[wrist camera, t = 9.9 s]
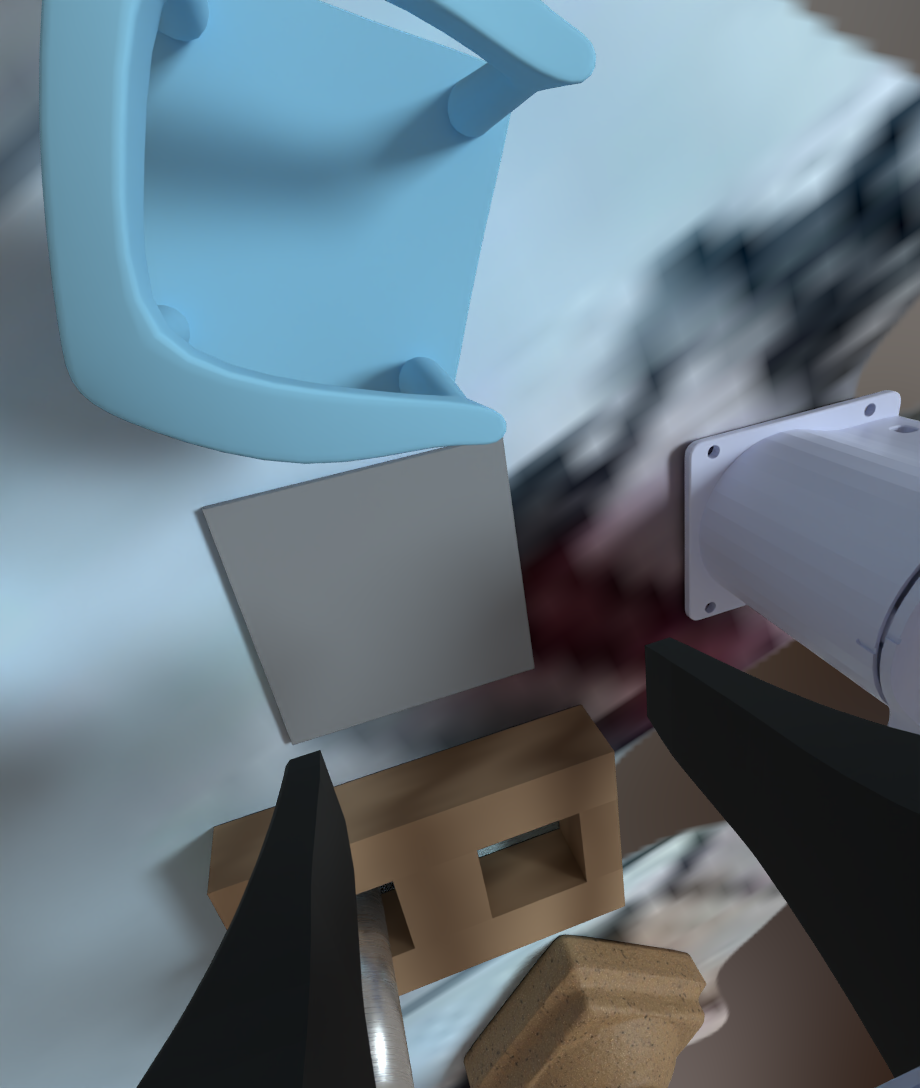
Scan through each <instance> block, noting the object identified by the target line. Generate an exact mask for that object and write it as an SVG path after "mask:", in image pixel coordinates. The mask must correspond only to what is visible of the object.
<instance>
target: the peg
mask: <svg viewBox="0 0 920 1088" xmlns="http://www.w3.org/2000/svg"><path fill="white" fill-rule="evenodd" d="M356 902H357V917H358V932H359V947H360V962H361V978H362V991H363V1001H364V1010H365V1018H366V1025H367V1031H368V1038H369V1044H370V1051H371V1057H372V1064H373V1070H374V1077H375V1083H376V1088H414V1083H413V1077H412V1071H411V1065H410V1060H409V1054H408V1048H407V1042H406V1036H405V1030H404V1024H403V1019H402V1013H401V1007H400V1001H399V995H398V989H397V983H396V978H395V972H394V966H393V960H392V954H391V948H390V942H389V936H388V931H387V925H386V919H385V913H384V907H383V901H382V895H381V890H380V886H378V887H376V888H373V889H370V890H367V891H365V892H362V893H359V894H357V895H356Z"/></svg>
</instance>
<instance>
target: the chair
mask: <svg viewBox="0 0 920 1088" xmlns="http://www.w3.org/2000/svg"><path fill="white" fill-rule="evenodd" d="M385 1H387V2H390V3H392V4H394V5H396V6H398V7H400V8H402V9H404V10H406V11H408V12H410V13H411V14H413V15H415V16H417V17H418V18H420V19H422V20H423V21H425V22H427V23H429V24H430V25H432V26H434V27H436V28H437V29H439V30H441V31H442V32H444V33H446V34H447V35H449V36H450V37H452V38H453V39H455V40H456V41H458V42H459V43H461V44H462V45H464V46H465V47H467V48H468V49H470V50H471V51H473V52H474V53H476V54H477V55H479V56H480V57H481V58H483V59H484V60H485V61H484V60H481V59H478V58H476V57H473V56H471V55H468V54H465V53H463V52H460V51H457V50H455V49H452V48H449V47H446V46H444V45H441V44H438V43H435V42H432V41H429V40H426V39H423V38H420V37H418V36H415V35H412V34H409V33H406V32H403V31H400V30H397V29H395V28H392V27H389V26H386V25H383V24H380V23H377V22H375V21H372V20H369V19H367V18H364V17H361V16H359V15H356V14H354V13H351V12H348V11H346V10H343V9H340V8H338V7H335V6H332V5H330V4H327V3H325V2H322V1H319V0H42V12H41V33H40V59H39V125H40V147H41V169H42V186H43V197H44V209H45V221H46V233H47V242H48V251H49V259H50V268H51V277H52V285H53V292H54V299H55V306H56V314H57V321H58V327H59V333H60V340H61V346H62V351H63V355H64V359H65V364H66V367H67V370H68V372H69V375H70V377H71V380H72V382H73V383H74V384H75V386H76V387H77V389H78V390H79V391H80V393H81V394H82V395H84V396H85V397H86V398H87V399H88V400H89V401H90V402H92V403H93V404H95V405H96V406H98V407H100V408H101V409H103V410H105V411H106V412H108V413H110V414H112V415H114V416H117V417H119V418H121V419H123V420H125V421H128V422H130V423H133V424H135V425H138V426H141V427H143V428H146V429H149V430H151V431H154V432H157V433H160V434H163V435H166V436H169V437H172V438H175V439H178V440H181V441H184V442H187V443H191V444H194V445H198V446H202V447H206V448H209V449H213V450H217V451H220V452H224V453H230V454H235V455H240V456H245V457H251V458H256V459H261V460H269V461H280V462H291V463H303V464H310V463H332V462H348V461H355V460H363V459H370V458H378V457H384V456H389V455H395V454H400V453H406V452H411V451H417V450H423V449H429V448H434V447H445V446H457V445H485V444H491V443H495V442H497V441H499V440H500V439H501V438H502V437H503V436H504V434H505V432H506V422H505V420H504V418H503V416H502V415H500V414H499V413H497V412H496V411H494V410H493V409H490V408H488V407H486V406H483V405H481V404H479V403H477V402H474V401H472V400H470V399H467V398H466V396H465V395H464V394H463V392H462V391H461V390H460V389H459V387H458V386H457V385H456V383H455V378H456V373H457V368H458V364H459V358H460V353H461V347H462V342H463V337H464V331H465V326H466V321H467V315H468V310H469V304H470V299H471V294H472V289H473V284H474V280H475V275H476V270H477V265H478V260H479V256H480V251H481V246H482V241H483V236H484V232H485V227H486V223H487V218H488V214H489V210H490V205H491V201H492V196H493V192H494V188H495V183H496V179H497V175H498V170H499V166H500V162H501V157H502V153H503V148H504V143H505V138H506V134H507V129H508V124H509V119H510V115H511V112H512V111H513V110H514V109H516V108H517V107H518V106H519V105H521V104H522V103H523V102H524V101H526V100H527V99H528V98H529V97H531V96H532V95H533V94H534V93H536V92H537V91H541V90H545V89H550V88H555V87H561V86H566V85H572V84H578V83H582V82H583V81H584V80H586V79H587V78H588V77H589V76H591V74H592V72H593V70H594V68H595V61H596V54H595V51H594V48H593V45H592V43H591V42H590V41H589V40H588V39H587V38H586V37H585V35H584V34H583V33H581V32H580V31H579V30H577V29H576V28H575V27H573V26H572V25H571V24H569V23H568V22H567V21H565V20H564V19H563V18H561V17H560V16H559V15H557V14H556V13H555V12H554V11H552V10H551V9H550V8H549V7H548V6H547V5H545V4H544V3H543V2H542V1H541V0H385ZM486 61H487V62H486Z"/></svg>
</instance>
